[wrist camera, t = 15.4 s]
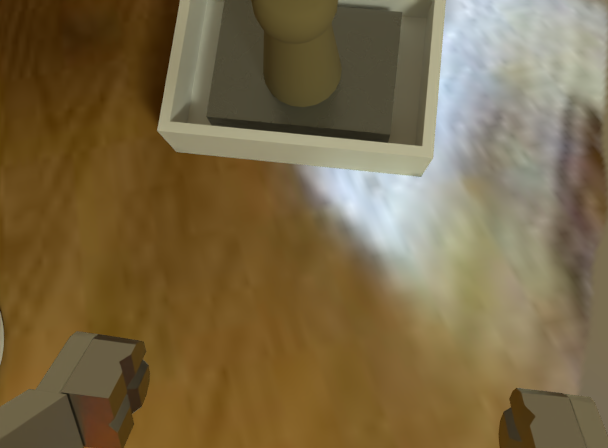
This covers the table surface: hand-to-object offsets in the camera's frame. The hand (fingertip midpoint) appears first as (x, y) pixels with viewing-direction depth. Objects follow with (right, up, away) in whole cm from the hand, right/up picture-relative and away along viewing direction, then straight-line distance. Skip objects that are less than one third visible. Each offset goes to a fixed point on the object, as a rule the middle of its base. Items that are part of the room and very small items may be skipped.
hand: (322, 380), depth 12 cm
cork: (-1, +15, +29) cm, 33 cm away
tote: (0, +15, +33) cm, 36 cm away
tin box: (0, +15, +32) cm, 35 cm away
